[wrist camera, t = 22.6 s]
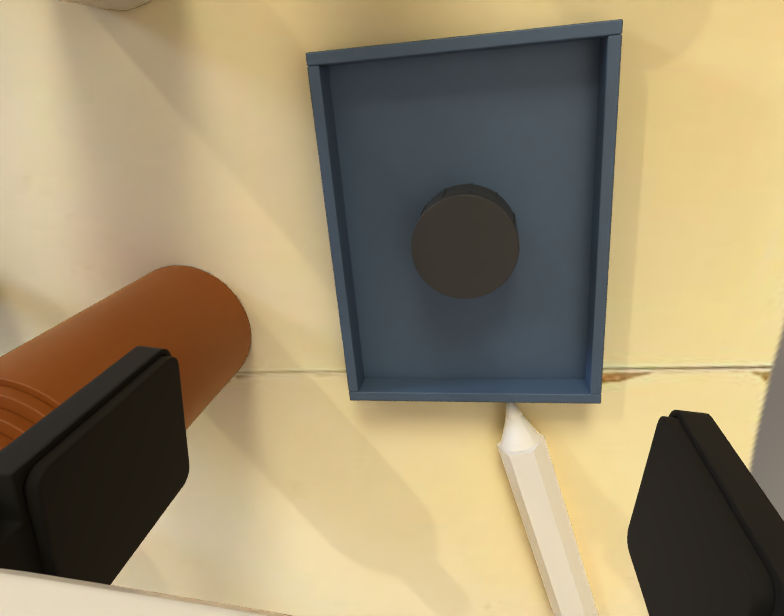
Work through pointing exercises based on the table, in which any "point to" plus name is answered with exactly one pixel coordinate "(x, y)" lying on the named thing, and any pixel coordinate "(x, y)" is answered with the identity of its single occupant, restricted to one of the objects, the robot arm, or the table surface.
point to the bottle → (111, 3)
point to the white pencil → (544, 516)
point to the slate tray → (481, 167)
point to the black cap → (465, 242)
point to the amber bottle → (130, 345)
